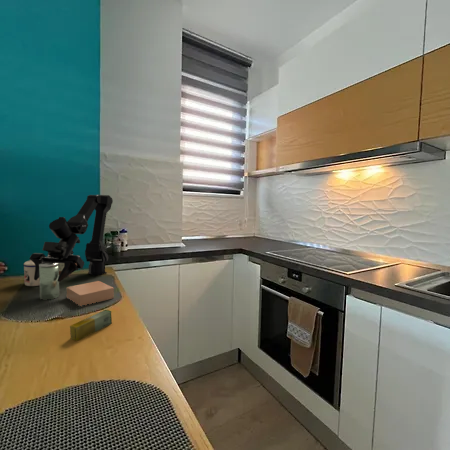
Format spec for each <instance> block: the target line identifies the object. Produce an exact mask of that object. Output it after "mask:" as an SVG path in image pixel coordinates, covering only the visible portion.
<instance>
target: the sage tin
mask: <svg viewBox="0 0 450 450" xmlns="http://www.w3.org/2000/svg"><path fill="white" fill-rule="evenodd" d="M39 273H40V285H39V299H40V300H41V299H43V301H48V300H47V299H51V300H54V298H55V299H58V298H59V297H60V282H59V281H58V278H59V262H43V263H40V264H39ZM57 297H58V298H57Z"/></svg>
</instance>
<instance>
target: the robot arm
mask: <svg viewBox="0 0 450 450" xmlns="http://www.w3.org/2000/svg"><path fill="white" fill-rule="evenodd" d="M113 201H114V200H113V198H112V197H111V195H109V194H89V195H87V196H86V200H85V201H84V203H83V205H82V206H81V207H80V209H79V211H77V213H76V214H75V215H74V216H72V217H70V218H69V219H68V220H67V219H66V217H65V216H59V217H58V218H57V219H54V220H52V221H51V222H50V223H49V225H48V227H49V229H50V230H51V232H52V234H54V236H55V237H56V238H57V239H60V240H59V241H58V242H55V241H44V244H43V247H42V251H43V252H44V251H45V252H47V256H48V255H50V256H51V257H47V256H46V255H45V253H43V252H42V253H41V252H34V253H32V254H31V255H30V257H29V261H30V260H31V261H32V262H33V263H34V264H35V275H34V280H37V279H38V278H39V277H40V273H39V264H40V263H43V262H59V263H64V268H63V270H62V272H61V274H60V275H59V278H58V281H59V283H60V282H62V281H63V280H64V279H66V278H67V276H68V275H69V274H71V275H72V274H73V273H74V272H75V271H79V269H80V270H83V268H84V265H85V262H84V259H82V257H81V256H80V255H79V254H74V251H73V250H74V248H75V246H76V244H80V243H81V241H80V237H79V236H78V235H84V234H85V233H86V232H87V229H88V227H89V223H88V221H89V219H90V217H91V216H92V214H93V213H94V212H95V214H94V215H95V217H94V223H93V227H92V229H93V230H92V235H91V240H89V242H87V243H86V245H85V250H84V256H85V260H86V262H89V264H88V271H87V273H88V274H90V275H91V276H93V277H94V276H100V275H106V274H107V273H108V272H107V271H106V262H107V263H108V261H109V255H108V253H107V252H106V246H105V244H104V240H103V239H104V232H105V226H106V219H107V214H108V212H109V211H110V210H111V208H112V205H113ZM70 254H73V255H70Z"/></svg>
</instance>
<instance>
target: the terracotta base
mask: <svg viewBox="0 0 450 450" xmlns="http://www.w3.org/2000/svg"><path fill="white" fill-rule="evenodd" d="M114 292H115V288H114V287H113V286H111V285H109V284H106V283H104V282H102V281H100V280H95V281H91V282H86V283H80V284H77V285H70V286H67V287H66V299H68V298H69V299H70V301H71V300H72V301H73V302H72V301H71V302H72V303H74V302H75V303H74V304H76V305H77V304H78V305H77V306H79V305H80V306H81V307H83V306H82V305H85V306H88V305H87V304H89V305H93V304H96V302H97V303H100V302H104V301H107V300H108V301H109V300H111V299H114V298H115V296H114V295H115V293H114ZM69 299H68V300H69ZM92 303H93V304H92ZM80 306H79V307H80Z"/></svg>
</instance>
